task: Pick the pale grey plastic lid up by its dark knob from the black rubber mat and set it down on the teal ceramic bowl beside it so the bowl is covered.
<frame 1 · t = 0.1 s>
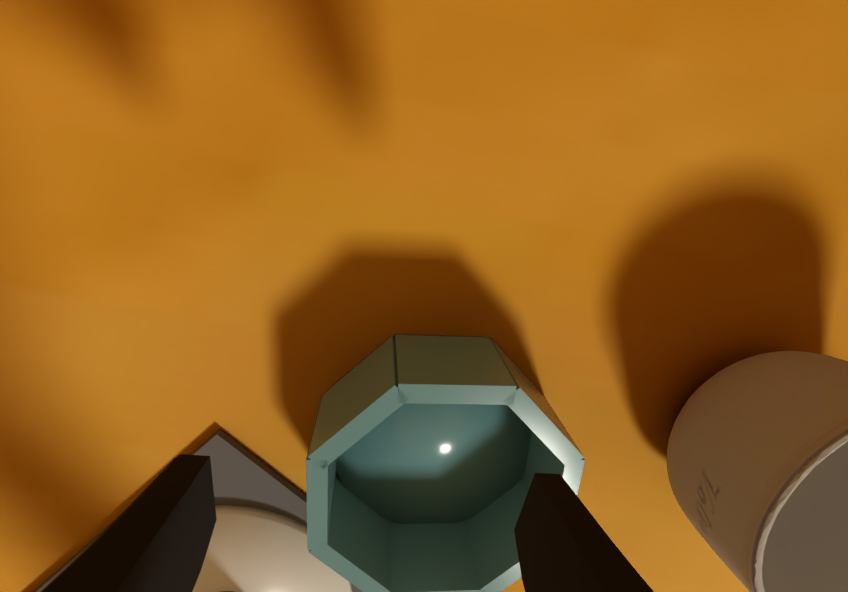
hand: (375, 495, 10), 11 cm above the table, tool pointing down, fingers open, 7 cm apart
bowl: (433, 436, 22), on the table
teacup: (747, 430, 24), on the table
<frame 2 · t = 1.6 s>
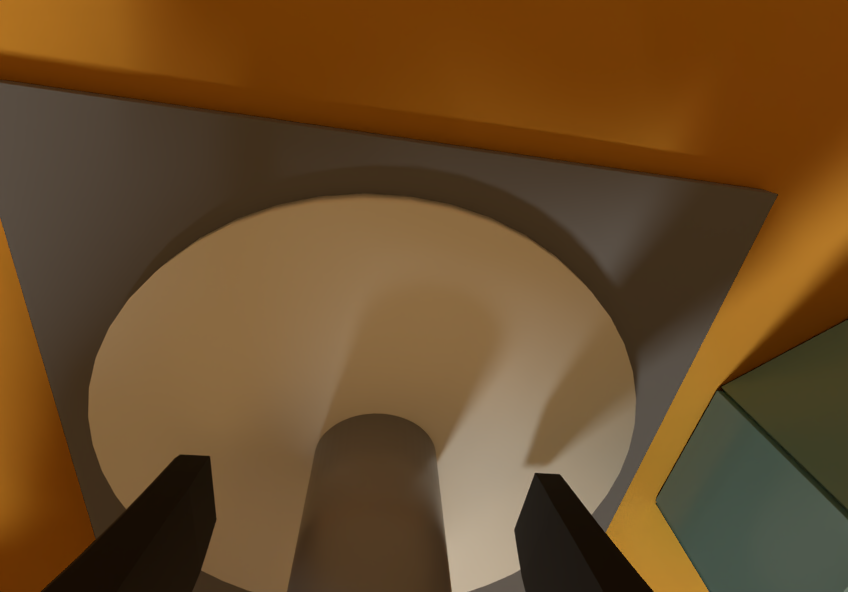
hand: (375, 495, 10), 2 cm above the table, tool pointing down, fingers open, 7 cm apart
lid: (376, 441, 11), resting on mat
bowl: (846, 459, 14), on the table
mat: (376, 431, 12), on the table
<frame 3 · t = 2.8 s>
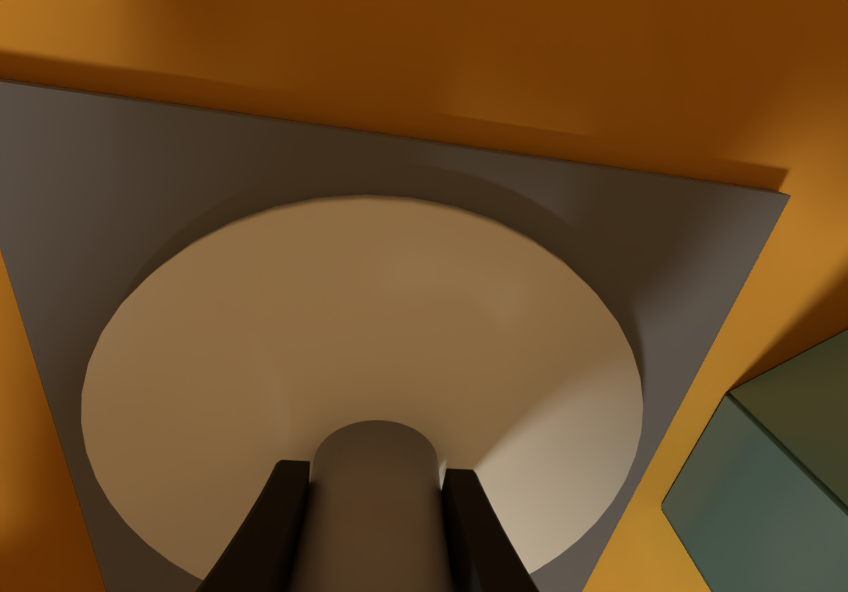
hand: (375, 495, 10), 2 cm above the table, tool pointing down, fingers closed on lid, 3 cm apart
lid: (376, 447, 11), resting on mat, touching gripper
mat: (377, 436, 12), on the table
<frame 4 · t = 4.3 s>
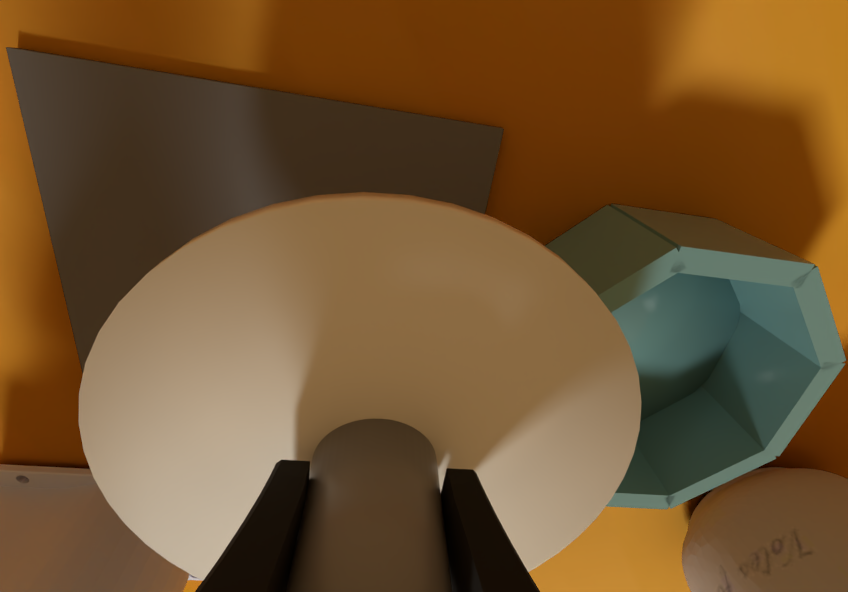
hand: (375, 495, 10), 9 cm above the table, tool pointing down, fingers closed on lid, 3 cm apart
lid: (375, 446, 11), point 8 cm above the table, touching gripper
bowl: (614, 332, 19), on the table
mat: (274, 297, 17), on the table
teacup: (735, 518, 27), on the table
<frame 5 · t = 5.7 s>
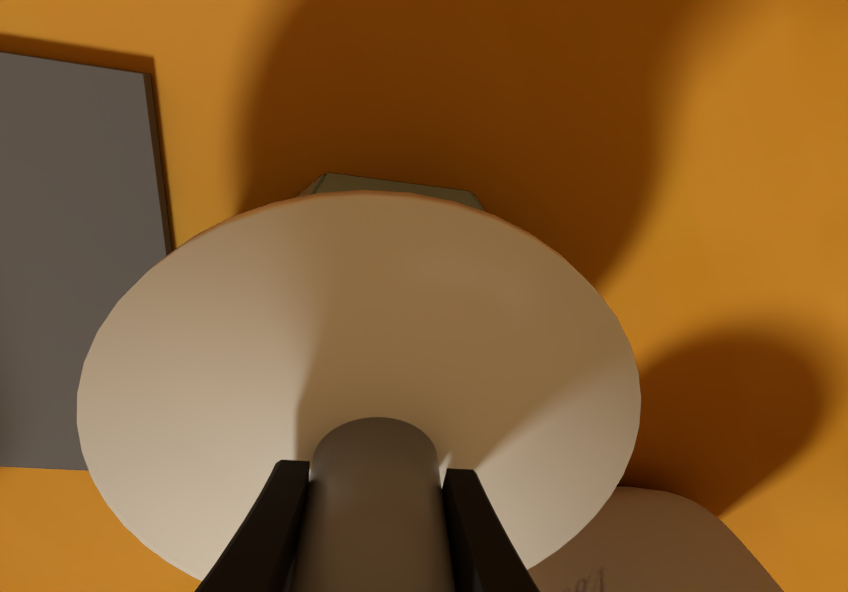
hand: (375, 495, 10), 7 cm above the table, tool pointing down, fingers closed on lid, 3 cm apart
lid: (376, 445, 11), point 5 cm above the table, touching gripper
bowl: (382, 332, 16), on the table
teacup: (595, 542, 23), on the table
when the fingers open (7 cm above the table, at t = 6.0 s): lid stays where it is, resting on bowl.
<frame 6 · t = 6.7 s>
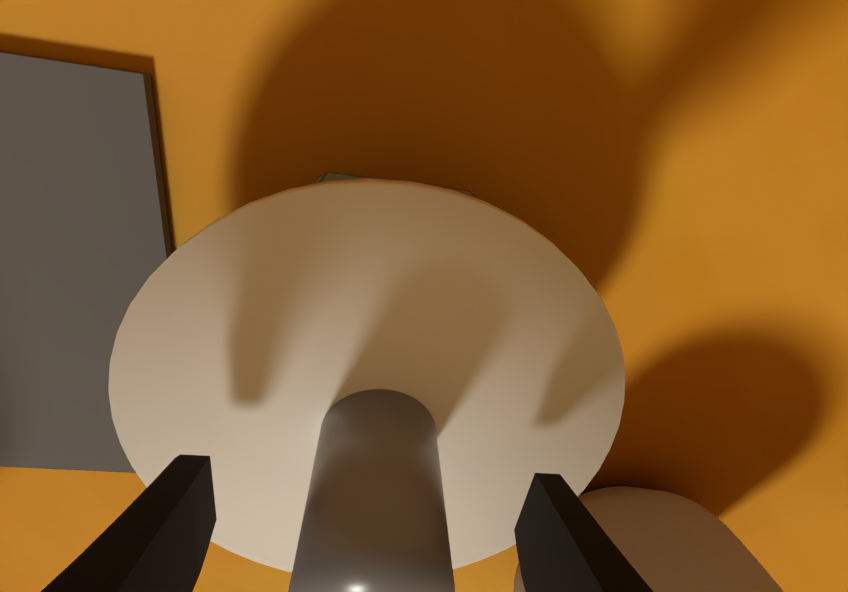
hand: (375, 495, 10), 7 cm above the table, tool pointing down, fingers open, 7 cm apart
lid: (379, 418, 12), point 4 cm above the table, touching bowl
bowl: (381, 332, 16), on the table
teacup: (595, 542, 23), on the table
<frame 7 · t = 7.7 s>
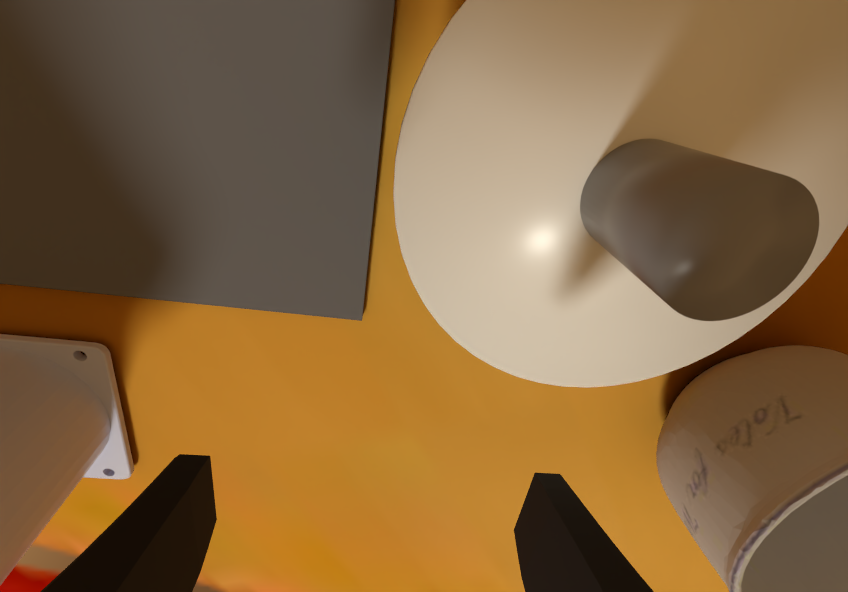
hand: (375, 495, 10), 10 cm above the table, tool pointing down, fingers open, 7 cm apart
lid: (625, 191, 12), point 4 cm above the table, touching bowl
mat: (156, 99, 15), on the table
teacup: (721, 423, 24), on the table
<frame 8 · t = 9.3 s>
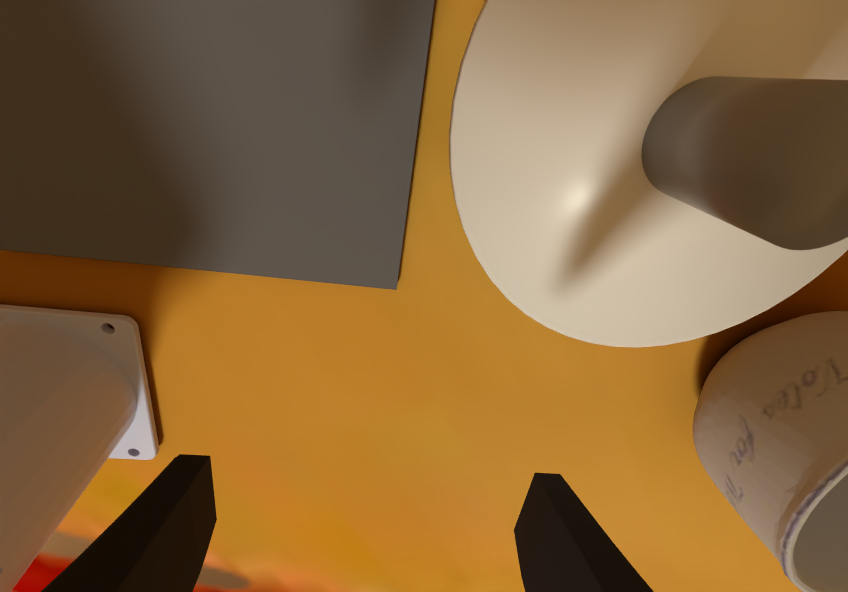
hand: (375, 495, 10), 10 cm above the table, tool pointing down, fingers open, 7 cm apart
lid: (685, 137, 12), point 4 cm above the table, touching bowl
mat: (193, 55, 14), on the table
teacup: (754, 397, 23), on the table
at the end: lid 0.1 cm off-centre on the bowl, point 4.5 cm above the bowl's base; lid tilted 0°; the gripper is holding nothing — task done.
